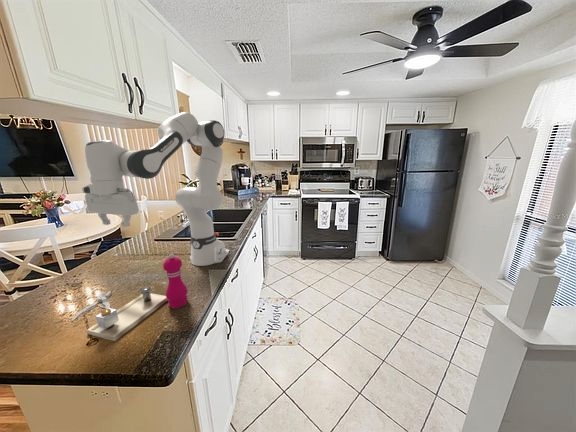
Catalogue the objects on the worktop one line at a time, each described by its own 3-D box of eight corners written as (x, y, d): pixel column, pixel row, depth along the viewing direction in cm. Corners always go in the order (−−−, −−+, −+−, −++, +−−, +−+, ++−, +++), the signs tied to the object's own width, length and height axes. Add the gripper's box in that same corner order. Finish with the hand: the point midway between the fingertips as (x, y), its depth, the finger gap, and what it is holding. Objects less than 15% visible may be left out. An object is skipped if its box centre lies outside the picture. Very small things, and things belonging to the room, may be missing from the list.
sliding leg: (112, 320, 73) (108, 306, 72) (119, 322, 72) (115, 307, 71) (99, 329, 69) (95, 314, 68) (106, 331, 69) (102, 316, 67)
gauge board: (145, 295, 90) (145, 291, 89) (168, 299, 87) (167, 295, 86) (87, 334, 70) (86, 329, 70) (114, 341, 67) (113, 336, 67)
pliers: (69, 318, 75) (91, 293, 89) (71, 322, 75) (92, 297, 89) (105, 312, 78) (120, 289, 92) (106, 316, 78) (121, 292, 92)
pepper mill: (166, 301, 86) (158, 253, 81) (186, 295, 90) (179, 248, 85) (169, 311, 80) (161, 260, 75) (190, 304, 84) (184, 254, 79)
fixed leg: (147, 297, 86) (145, 286, 85) (154, 298, 85) (152, 287, 84) (140, 302, 83) (138, 290, 82) (147, 303, 82) (145, 292, 81)
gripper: (139, 187, 80) (146, 224, 83) (97, 186, 85) (105, 221, 89) (122, 190, 74) (130, 230, 77) (78, 188, 79) (87, 225, 83)
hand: (116, 225), depth 83 cm, fingers open, 8 cm apart
